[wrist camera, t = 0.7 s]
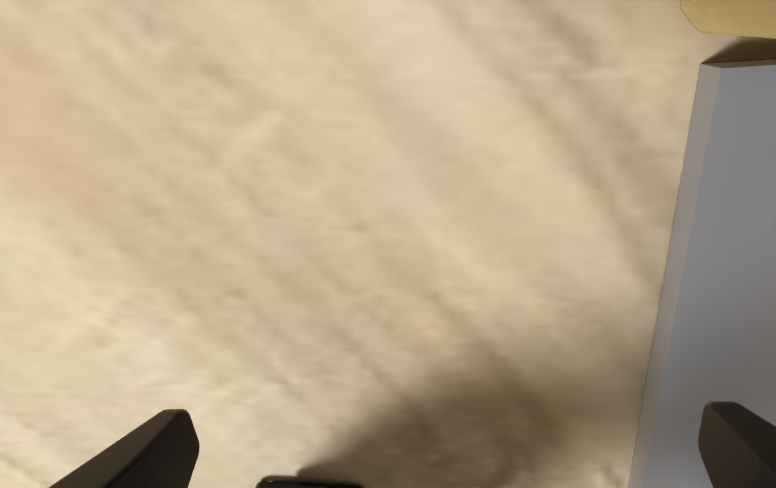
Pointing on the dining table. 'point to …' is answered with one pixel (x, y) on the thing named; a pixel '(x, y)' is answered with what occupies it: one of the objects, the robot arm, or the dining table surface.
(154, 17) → the dining table surface
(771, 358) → the axle rod stand
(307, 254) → the dining table surface
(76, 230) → the dining table surface
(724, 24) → the cheese
